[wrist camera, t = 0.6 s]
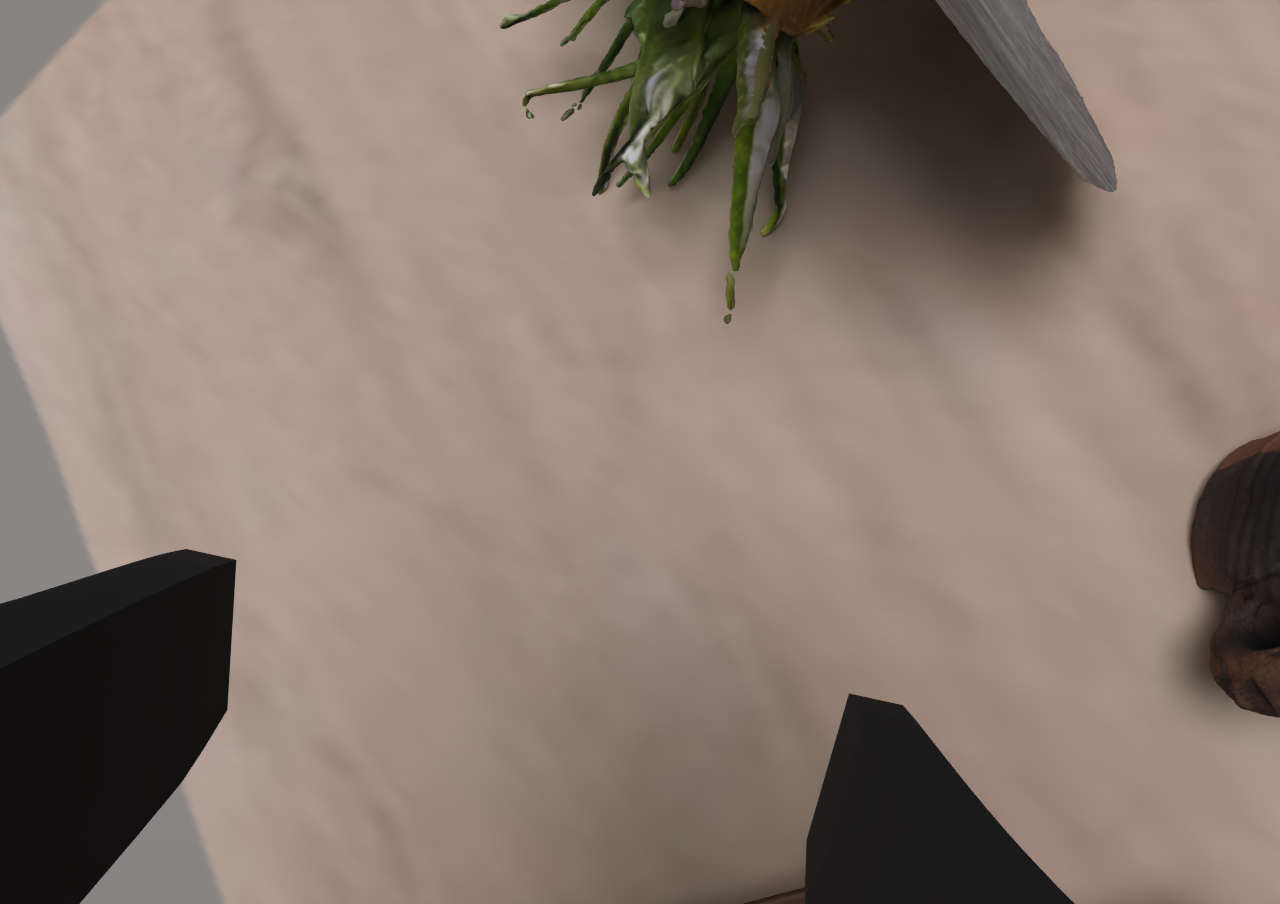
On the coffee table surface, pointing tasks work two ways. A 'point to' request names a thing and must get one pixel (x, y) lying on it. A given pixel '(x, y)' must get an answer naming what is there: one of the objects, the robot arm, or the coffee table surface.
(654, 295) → the coffee table surface
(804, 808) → the coffee table surface
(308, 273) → the coffee table surface
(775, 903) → the walnut crate
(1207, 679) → the coffee table surface
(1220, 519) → the pottery mug
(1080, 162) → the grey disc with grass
